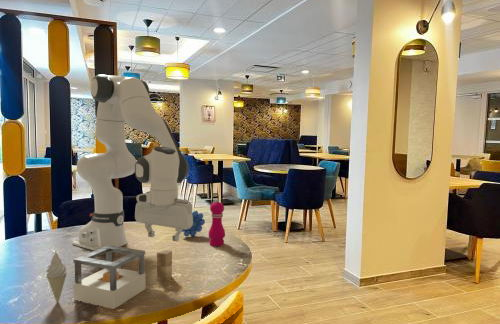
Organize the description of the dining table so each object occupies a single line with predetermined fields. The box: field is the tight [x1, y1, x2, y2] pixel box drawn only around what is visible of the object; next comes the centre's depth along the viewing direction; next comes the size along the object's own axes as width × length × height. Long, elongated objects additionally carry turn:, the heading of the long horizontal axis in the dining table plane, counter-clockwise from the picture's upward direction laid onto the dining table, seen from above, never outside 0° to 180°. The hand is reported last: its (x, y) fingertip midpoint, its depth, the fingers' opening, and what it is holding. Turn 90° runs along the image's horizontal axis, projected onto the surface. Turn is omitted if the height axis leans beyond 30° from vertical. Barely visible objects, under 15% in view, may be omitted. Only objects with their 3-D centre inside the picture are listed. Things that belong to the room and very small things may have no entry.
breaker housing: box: [73, 267, 146, 310], centre depth 108 cm, size 14×14×5 cm
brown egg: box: [103, 271, 119, 282], centre depth 108 cm, size 4×4×5 cm
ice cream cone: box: [45, 250, 68, 303], centre depth 102 cm, size 5×5×15 cm
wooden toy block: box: [156, 249, 173, 282], centre depth 120 cm, size 4×4×9 cm
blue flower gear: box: [181, 210, 206, 237], centre depth 169 cm, size 12×7×12 cm, turn 112°
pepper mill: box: [208, 198, 226, 247], centre depth 157 cm, size 7×7×20 cm
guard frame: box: [72, 245, 146, 291], centre depth 107 cm, size 14×14×7 cm
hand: (163, 238), depth 120 cm, fingers open, 8 cm apart
